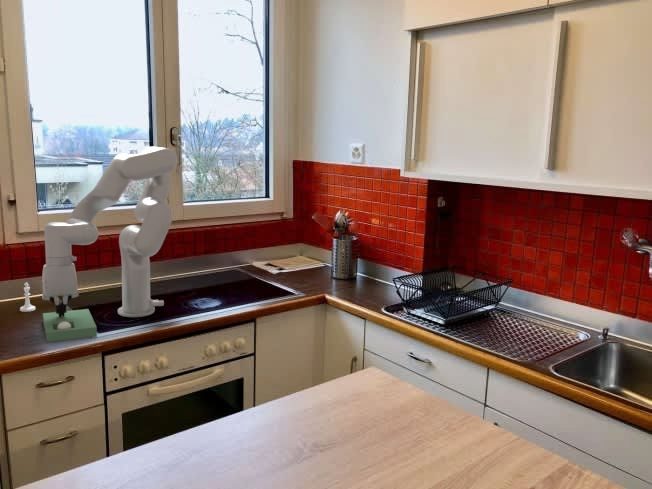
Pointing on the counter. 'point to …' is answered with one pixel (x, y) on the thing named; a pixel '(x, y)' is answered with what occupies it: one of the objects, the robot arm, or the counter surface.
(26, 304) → the chess piece
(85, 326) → the green
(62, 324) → the ball
